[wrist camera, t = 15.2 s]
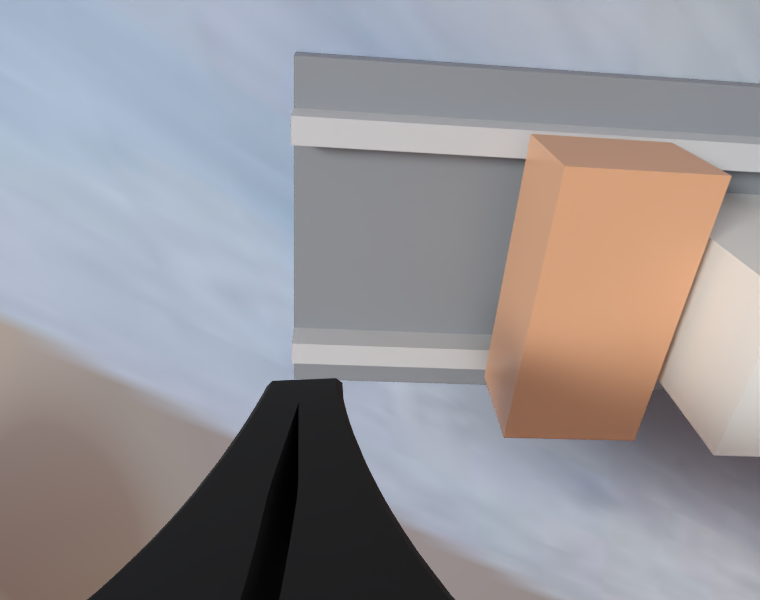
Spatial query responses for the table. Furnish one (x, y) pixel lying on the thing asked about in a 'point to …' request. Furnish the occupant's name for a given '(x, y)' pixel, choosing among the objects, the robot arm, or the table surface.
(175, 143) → the table surface
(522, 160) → the rail holder
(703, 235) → the peach block
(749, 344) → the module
